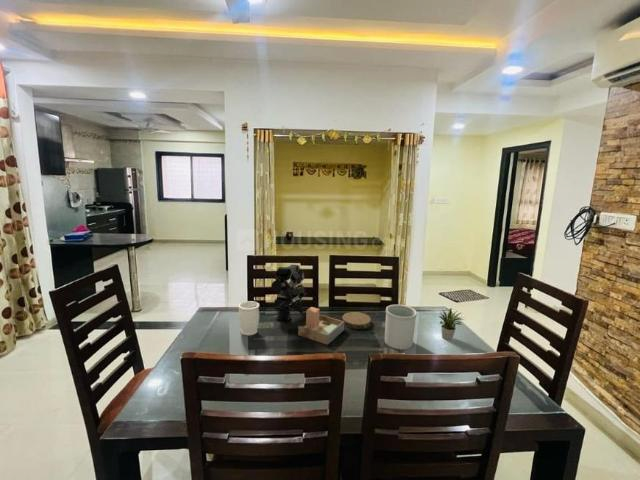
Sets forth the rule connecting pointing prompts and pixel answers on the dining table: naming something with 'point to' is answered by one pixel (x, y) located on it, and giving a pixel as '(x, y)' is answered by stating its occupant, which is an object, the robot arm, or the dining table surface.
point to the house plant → (449, 324)
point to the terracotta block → (312, 317)
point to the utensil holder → (400, 326)
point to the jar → (248, 317)
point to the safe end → (330, 332)
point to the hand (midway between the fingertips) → (302, 312)
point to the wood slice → (356, 320)
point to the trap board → (311, 332)
